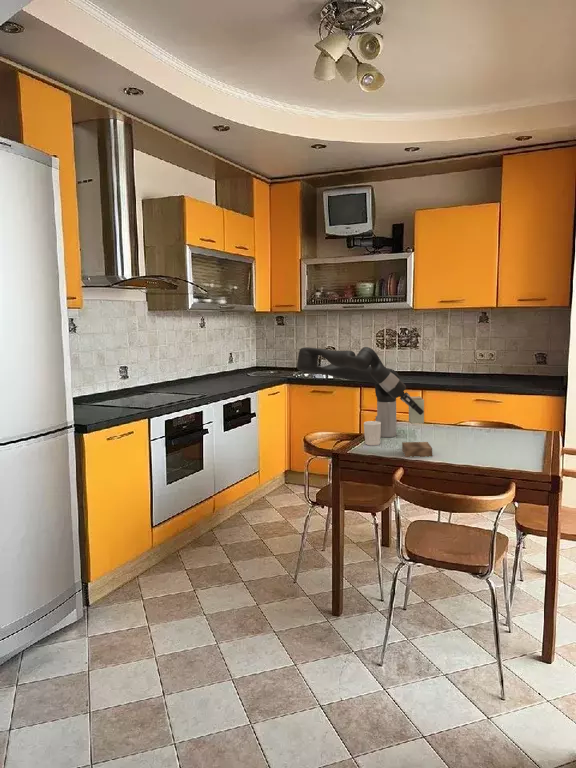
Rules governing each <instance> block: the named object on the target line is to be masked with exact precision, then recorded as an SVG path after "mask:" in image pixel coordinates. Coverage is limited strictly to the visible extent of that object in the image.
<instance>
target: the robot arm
mask: <svg viewBox="0 0 576 768" xmlns="http://www.w3.org/2000/svg"><path fill="white" fill-rule="evenodd" d="M319 357H322V358H324V359H325V360H326V361H327V362H328V363H330V364H328V365H324V366H318V361H319ZM296 368H297V369H296V370H298V371H301V372H304V373H309V374H318V375H324V376H331V377H334V378H339V379H343V380H347V381H354V382H363V383H365V382H366V383H373V384H374V390H375V396H376V401H377V402H376V416H375V421H378V422H381V435H380V438H382V437H383V438H392V437H393V438H394V437H396V436H397V398H399V397H400V398H399V400H401V402H403V403H405V405H407V406H408V407H409V406H411V405H412V404H413V403H414V405H413V407H412V406H411V407H412V409H414V410H415V411H416V412H417V413H418V414H420V415H421V414H422V413H423V412H424V413H425V410H424V411H423V410H422V409H421V408H420V407H419V406H418V404H416V403H415V402H414V400H413V399H412V398H411V397H412V396H411V395H410V394H409V393H408V392H407V391H406V392H405V390H406V389H407V386H406V384H405V383H403V381H402V380H401V379H400V375H399V373H398V372H397V371H396V370H395V369H392V368H388V367H386V366H385V365H384V364H383V362H382V360H381V358H380V357H379V356H378V354H377V352H376V351H375V350H374V349H373V348H372V347H368V346H364V347H362V348H361V349H360V350H359V352H358V353H357V354H356V352H354V351H353V350H332V349H326V348H325V349H324V348H316V347H301V348H300V349H299V351H298V357H297V363H296Z"/></svg>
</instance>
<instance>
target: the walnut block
mask: <svg viewBox="0 0 576 768" xmlns="http://www.w3.org/2000/svg"><path fill="white" fill-rule="evenodd" d="M401 444H402V445H401V446H402V447H401V450H402V453H403V452H404V453H403V454H405V455H404V456H405V458H415V457H414V456H420V457H419V458H421V457H422V458H423V457H425V456H427V457H428V458H429V456H432V457H433V448H432V446H431V444H430V443H429V442H428V441H410V442H409V441H408V442H407V441H406V442H405V441H404V442H402V443H401ZM410 456H412V457H410Z"/></svg>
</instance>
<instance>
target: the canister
mask: <svg viewBox="0 0 576 768" xmlns="http://www.w3.org/2000/svg"><path fill="white" fill-rule="evenodd" d="M410 397H411V398H412V399H413V400H414V402H415V403H416V404H418V406H419V407H420V408H421V409H422V410H423V411H424V412H423V413H422V414H421V415H420V414H418V413H417V412H416V411H415V410H414V409H412V407H413V405H414V403H413V404H412V405H411V406H412V407H411V406H408V422H409V423H410V424H414V425H415V424H416V425H418V424H420V425H421V424H425V399H423V397H421V396H410Z"/></svg>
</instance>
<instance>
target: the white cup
mask: <svg viewBox="0 0 576 768" xmlns="http://www.w3.org/2000/svg"><path fill="white" fill-rule="evenodd" d="M363 431H364V432H363V433H364V444H365V445H366V444H367V446H378V445H380V444H381V437H380V435H381V422H378V421H376V420H368V421H364V422H363Z"/></svg>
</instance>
